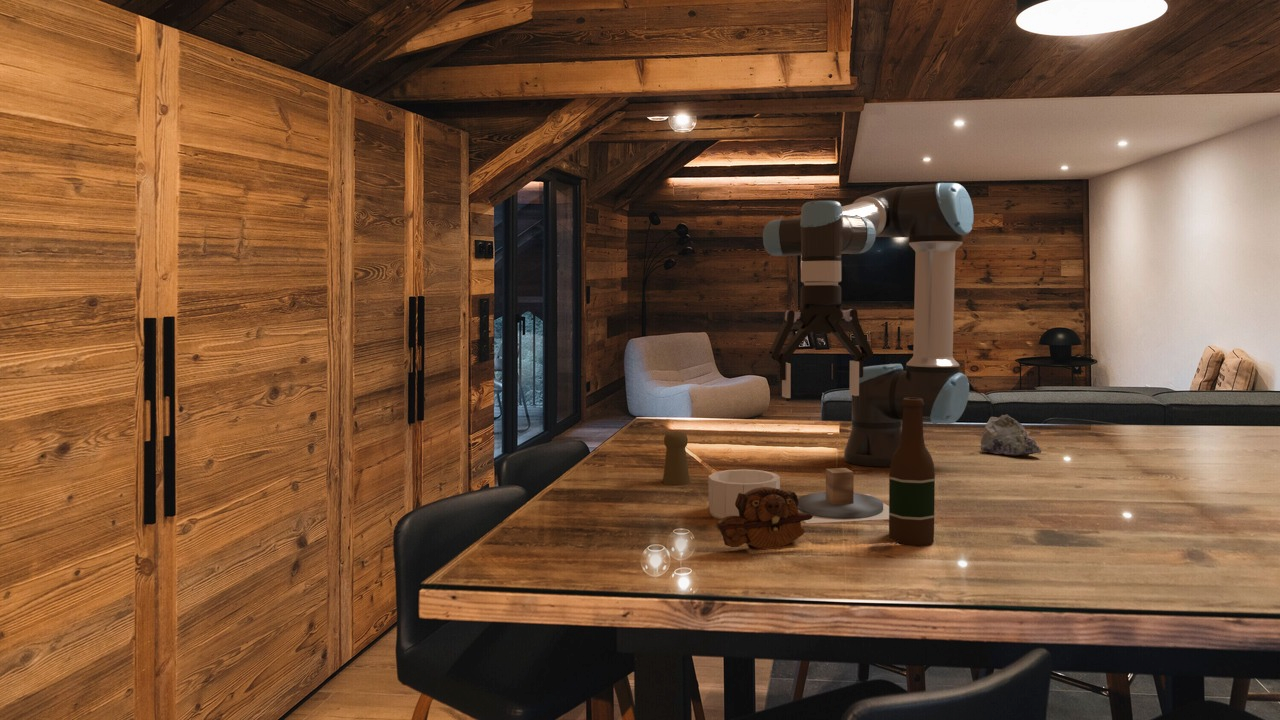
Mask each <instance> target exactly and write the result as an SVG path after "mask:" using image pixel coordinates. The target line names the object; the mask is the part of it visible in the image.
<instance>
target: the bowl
mask: <svg viewBox="0 0 1280 720" xmlns="http://www.w3.org/2000/svg"><path fill="white" fill-rule="evenodd" d="M707 480H708V483H707V484H708V487H707V488H708V509H709V515H710V516H711V517H713V518H715V519H719V520H722V519H723V518H724V517H727V516H739V511H738V509H737V508H736V506H735V502H736V499H737V497H738V494H739V493H742V494H745V493H747V492H748V491H750V490H752V489H755V488H759V487H772V488H776V489H780V490H781V477H780V475H778V474H777V473H776V472H771V471H765V470H761V469H760V470H759V469H744V468H742V469H726V470H725V469H724V470H719V471H716V472H713V473H711V474H709V475H708V479H707Z"/></svg>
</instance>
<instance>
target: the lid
mask: <svg viewBox="0 0 1280 720" xmlns="http://www.w3.org/2000/svg"><path fill="white" fill-rule="evenodd" d="M854 476H855V474H854V471H853V470H851V469H848V468H847V467H839V468H837V467H836V468H835V467H834V468H825V491H824V492H814V493H808V494H805V495H801V496H799V497H797V498H798V507H797V509H798V510H800V511H801V512H804V513H808V514H812V515H813V516H818V517H825V518H837V519H855V518H865V517H871V516H875V515H878V514H880V513H882V511H883V503H884V501H882V499H880V498H877V497H876V496H873V495H871V496H869V495H870V494H869V495H864V494H865V493H864V494H863V493H859V492H858V493H857V492H854V489H855V487H854V484H855V483H854V481H855V480H854Z"/></svg>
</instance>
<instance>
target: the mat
mask: <svg viewBox="0 0 1280 720" xmlns="http://www.w3.org/2000/svg"><path fill="white" fill-rule="evenodd" d="M864 495H869V496H872V495H871V494H869V493H868V494H867V493H864ZM798 511H799V513H801V511H800V510H798ZM884 520H886V521H887V520H888V521H889V504H888V505H887V504H886V503H884V502H883V511H882V513H880V514H878V515H875V516H871V517H865V518H855V519H837V518H825V517H818V516H813V517H812V518H811V519H809V520H805V521H803V522H804V523H805V524H807V525H809V524H827V523H828V524H829V523H845V522H846V523H847V522H864V521H867V522H868V521H869V522H870V521H884Z"/></svg>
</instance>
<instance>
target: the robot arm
mask: <svg viewBox="0 0 1280 720" xmlns="http://www.w3.org/2000/svg"><path fill="white" fill-rule="evenodd" d="M800 213H801V214H800V216H795V217H792V218H791V217H790V218H779V219H773V220H771V221H768V222H767V223H766V225H765V226H764V228H763V232H762V241H763V242H762V244H763V247H764V250H765V251H766V252H767V254H769V255H771V256H773V257H775V256H777V257H788V256H789V257H790V256H800V257H801V258H800V282H801V283H803V285H802V286H801V287H800V309H799V311H794V310H791V309H787V310H784V313H783V322H782V324H781V325H780V328H779V330H778V332H777V333H776V336H775V338H774V341H773V342H772V345H771V347H770V349H769V351H768V353H767V358H768V359H769V360H771V361H775V362H776V364H777V367H776V368H777V370H776V371H777V372H776V374H777V380H779V381H781V397H783V398H785V399H791V396H792V395H791V390H792V389H791V386H792V385H791V380H792V379H791V378H792V377H791V369H792V368H791V366H792V365H791V364H792V363H789V362H788V361H789V360H790V358H791V356H792V355H793V354H794V353H795V351H797V349H798V348H799V346H800V345H801V344H802V343H803V341H804V340H805V339H806V338H807V337H808V336H810V334H814V335H819V334H820V335H821V334H826V335H827V334H833V335H834V336H835V337H836V338H837V340H838V341H839V342H840V344H841V345H842V346H843V348H844V349H845V350H846V351H847V352H848V353H849V354H850V356H851V357H852V358H853V359H854V360H849V395H851V431H850V433H849V436H848V439H847V442H846V446H845V448H844V451H843V452H844V455H843V456H844V462H846V463H849V464H852V465H857V466H864V467H878V468H879V467H881V468H882V467H890V465H891V461H892V458H893V456H894V453H895V452H896V450H897V449H898V447H899V446H900V442H901V435H902V420H903V406H902V401H903V399H904V398H908V397H916V398H921V399H923V403H924V406H923V407H922V417H923V423H931V424H933V425H937V424H943V425H944V424H945V425H950V424H954V423H955V422H957V421H958V420H959V419H960V418H961V417H962V415H963V414H964V411H965V410H966V406H967V404H968V400H969V396H970V395H969V394H970V383H969V379H968V376H967V375H966V374H965V373H962V372H960V363H959V362H958V361H957V360H955V358H954V355H953V353H954V323H955V322H954V321H955V320H954V318H955V317H954V315H955V314H954V312H955V279H956V278H955V274H956V273H955V272H956V251H957V250H958V249H959V248H960V247H961V246H962V245H963V240H964V239H963V237H964V236H966V235H968V234H969V233H971V231H972V230H973V225H974V215H975V214H974V207H973V203H972V199H971V197H970V195H969V193H968V191H967V190H966V188H965V187H964V186H963V185H961V184H960V183H957V182H937V183H927V184H917V185H916V184H915V185H910V186H909V185H907V186H906V185H905V186H897V187H895V186H894V187H893V188H892V187H891V188H887V189H886V190H881V191H878V192H875V193H870V194H868V195H865V196H861V197H859V198H857V199H855V200H854V201H853V202H852V203H851V204H847V205H843V206H842V204H841V203H840V201H837V200H813V201H807V202H805V203H803V204H802V206H801V212H800ZM880 237H881V238H908V245H909V247H910V248H912V250H913V251H914V252H915V256H914V257H915V260H914V261H915V265H914V266H915V267H914V268H915V269H914V305H913V306H914V307H913V309H914V311H913V313H914V314H913V315H914V316H913V317H914V318H913V351H912V352H913V356H912V357H911V358H910V359H909V361H907V362H906V365H905V367H906V368H905V370H904V366H903V365H902V363H889V364H879V365H878V364H877V365H869V366H864V362H865V361H866V360H867V359H868V358H872V357H874V352H873V349H872V348H871V345H870V343H869V340H868V338H867V337H866V335H865V332H864V331H863V329H862V326H861V324H860V321H859V316H858V315H859V314H858V310H857V309H853V308H849V309H847V310H842V306H841V305H842V286H841V285H839V283H841V282H842V255H843V254H846V255H847V254H849V255H860V254H864V253H866V252H868V251H869V250H871V248H872V246H873V245H874V243H875V241H876V238H880ZM843 318H844V321H845V322H847V324H848V327H849V329H850V331H851V333H852V336H853V337H854V339H855V342H856V344H857V345H856V344H855V343H854V342H853V341H852V339H851V338H850V336H848V335H847V333H846V332H845V330H844V328H843V327H842V326H841V324H840V322H841V321H842V319H843ZM797 320H800V322H801V323H802V324H801V325H800V327H799V328H798V329H797V331H796V333H795V334H794V335H793V337H792V338H791V339H790V340H789V341H788V342H787V344H786V346H785V347H784V345H785V343H786V341H787V339H788V336H789V334H790V332H791V330H792V328H793V326H794V323H796V322H797ZM857 346H858V347H859V348H858V347H857ZM783 347H784V348H783Z"/></svg>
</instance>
